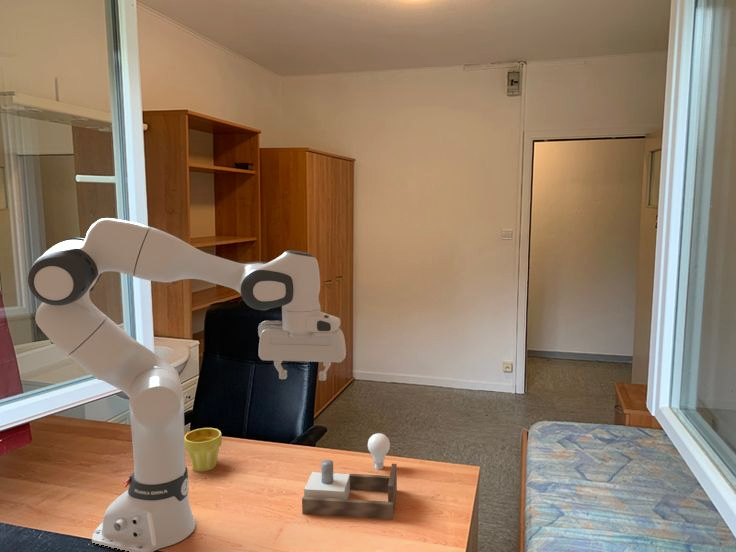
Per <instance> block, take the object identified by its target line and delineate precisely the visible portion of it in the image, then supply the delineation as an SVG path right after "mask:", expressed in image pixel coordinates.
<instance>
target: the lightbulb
mask: <svg viewBox="0 0 736 552" xmlns="http://www.w3.org/2000/svg"><path fill="white" fill-rule="evenodd" d="M390 447H391V442H390V439H389V438H388V436H386V434H384V433H380V432H378V433H374V434H372V435H371V436H370V437H369V438H368V441H367V449H368V452H369V453H370V454H371V456H372V461H373V467H374V470H377V471H380V470H383V469H384V461H385V457H386V455H388V452H389V451H390V449H391V448H390Z"/></svg>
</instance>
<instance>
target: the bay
mask: <svg viewBox="0 0 736 552" xmlns="http://www.w3.org/2000/svg"><path fill="white" fill-rule="evenodd" d="M397 466H398V465H397V463H391V468H390V472H389V473H390V474H389V475H380V474H379V475H378V474H363V473H361V474H360V473H349V474H350V491H365V492H383V493H384V492H386V493H387V501H382V500H381V501H380V500H367V499H350V498H348V499H336V498H319V497H304V496H302V498H301V504H302V505H301V507H302V508H301V510H302V511H301V512H302V515H313V516H325V517H326V516H327V517H341V518H358V519H359V518H360V519H361V518H362V519H373V520H374V519H375V520H376V519H377V520H378V519H379V520H391V521H392V520H393V519H394V514H395V513H394V512H395V506H396V499H397V491H398V476H397V469H398V468H397ZM340 473H341V472H340ZM341 474H347V473H346V472H345V473H343V472H342V473H341Z"/></svg>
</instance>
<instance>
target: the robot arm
mask: <svg viewBox="0 0 736 552" xmlns="http://www.w3.org/2000/svg"><path fill="white" fill-rule="evenodd" d="M85 235H86V236H85V238H82V237H70V238H66V239H64V240H62V241H61V242H59V243H57V244H55V245H52V246H51V247H50V248H48V249H47V250H45V252H44V253H43V254H42V255H41V256H39V257H38V258H37V259H36V260H35V261H34V262H33V264H32V265H31V267H30V268H29V271H28V276H27V283H28V288H29V291H30V292H31V293H32V295H33V296H34V297H35V298H36V299H37V300H39V301H40V302H41V303H40V304H39V306H38V307H37V309H36V313H35V317H34V318H35V319H34V320H35V323H36V325H37V326H38V328H39V329H40V330H41V332H42V333H43V334H45V336H46V337H47V339H48V340H50V341H51V342H52V344H54V345H55V346H56V347H57V348H58V349H59V350H61V352H63V353H64V354H65V356H66V355H67V356H68V357H69V358H70V359H71V360H72V361H74V362H75V363H76V364H77V365H78V366H80V367H82V368H83V370H85V371H86V372H88V373H89V374H90V375H91V376H93V377H94V378H95V379H97V380H98V381H102V382H105V383H107V384H109V385H111V386H112V387H114V388H116V389H118V390H119V391H121V392H122V393H124V394H125V395H127V397H128V398H129V399H128V407H129V418H130V419H129V420H130V421H129V422H130V431H131V440H132V454H133V455H132V456H133V468H134V469H133V471H134V473H132V474H130V475H129V477H128V479H127V480H126V481H124V483H123V484H124V486H123V488H124V489H125V488H126V487H128V489H127V490H125V491H123V493H121V494H120V495H119V496H118V497H117V498H115V499H114V500H113V501H112V502H111V503H110V504H109V505H108V507H107V509H106V510H105V512H104V515H103V518H102V522H101V523H100V524H99V525H98V526H97V527H96V528H95V530H94V532H93V534H92V536H91V543H92V544H93V543H95V544H94V545H96V544H99V545H98V546H101V545H104V546H103V547H105V546H108V547H107V548H109V547H111V548H110V549H114V548H117V549H116V550H118V549H120V550H119V551H122V550H125V551H124V552H127V551H129V552H155V551H157V550H160V549H163V548H166V547H170V546H172V545H176V544H177V543H180V542H181V541H184V540H185V539H186V538H188V537H189V536H191V534H192V533H193V532H194V530H195V528H196V526H197V525H196V520H195V518H194V514H193V512H192V509H191V503H190V499H189V487H190V485H189V483H190V482H189V470H188V467H187V465H186V449H185V444H184V437H185V407H184V406H185V403H184V402H185V400H184V399H185V398H184V392H183V386H182V383H181V379H180V375H179V372H178V371H177V370H176V368H175V367H174V366H172V365H171V364H170V363H168V362H167V361H166V360H165V359H164V358H162V357H160V356H159V355H157V354H156V353H155V352H154V351H152V350H151V349H149V348H148V347H146V346H144V345H143V344H141V343H140V342H138V340H136V339H135V338H133V337H132V336H131V335H130V334H128V333H127V332H126V331H125V330H124V329H123V328H121V327H120V326H119V325H118V324H117V323H116V322H115V321H113V320H112V319H111V318H110V317H108V315H106V313H104V312H103V311H101V310H100V309H99V308H98V307H97V306H96V305H95V304H94V303H93V302H92V300H91V298H90V293H91V292H92V291H93V290H94V289H95V287H96V284H97V283H98V281H99V279H100V278H101V276H102V274H103V273H106V272H116V273H121V274H125V275H128V276H130V277H134V278H136V279H137V278H138V279H141V280H146V281H151V282H159V283H172V282H176V281H180V280H181V281H182V280H189V279H190V280H191V279H193V280H201V281H204V282H208V283H211V284H215V285H220V286H222V287H223V286H224V287H227V288H230V289H232V290H234V291H236V292H238V293H239V294H240V296H241V298H242V300H243V301H244V303H245V304H246V305H247V306H248V307H249V308H251V309H254V310H256V311H257V310H258V311H267V310H270V309H276V308H280V307H281V317H282V318H281V320H277V319H276V320H269V319H268V320H267V319H266V320H264V321H262V322H261V323H259V324H258V327H257V329H258V330H257V333H258V337H259V343H258V357H259V359H260V360H261V361H273V366H274V367H275V368H276V369H275V370H277V372H278V379H279V380H286V379H287V378H288V370H287V369H284V368H283V366H282V363H283V362H309V363H310V362H313V363H314V362H315V363H322V364H323V367H324V370H320V371H319V372H318V380H319V381H326V380H327V371H328V370H329V368H330V367H331V365H332V363H342V362H343V361H344V360H345V359H346V356H347V346H346V340H345V335H344V332H343V330H342V329H341V328H340V326H341V319H340V317H337V316H335V315H332V314H328V313H326V312H323V311H321V304H320V297H319V296H320V292H321V276H320V275H321V274H320V267H319V262H318V259H317V258H316V257H315V256H314V255H312V254H311V253H309V252H305V251H299V250H285V251H284V252H283V253H282V254H281V255H279V256H278V257H276V258H275V259H272V260H271V261H268V262H265V261H251V262H249V261H248V262H238V261H236V260H230V259H227V258H223V257H220V256H218V255H215V254H212V253H208V252H204V251H203V250H201V249H198V248H196V247H194V246H192V244H189V243H188V242H185V241H184V240H182V239H180V238H178V237H177V236H175V235H173V234H170V233H169V232H166V231H163V230H161V229H159V228H155V227H152V226H148V225H145V224H141V223H138V222H135V221H130V220H129V221H128V220H122V219H119V218H118V219H117V218H111V217H110V218H109V217H105V218H100V219H98V220H97V221H95V222H94V223H92V224H91V226H90V227H89V229H88V230H87V232H86V234H85Z"/></svg>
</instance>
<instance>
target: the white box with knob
mask: <svg viewBox="0 0 736 552" xmlns="http://www.w3.org/2000/svg"><path fill="white" fill-rule="evenodd" d="M320 465H321V467H320V468H321V471H312V472H311V474H310V475H309V478H308V480H307V482H306V484H305V486H304V489H303V497H319V498H336V499H349V496H350V494H351V490H350V474H351V473H346V474H341V472H334V460H331V459H326V460H325V459H324V460H322V461H321V463H320Z"/></svg>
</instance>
